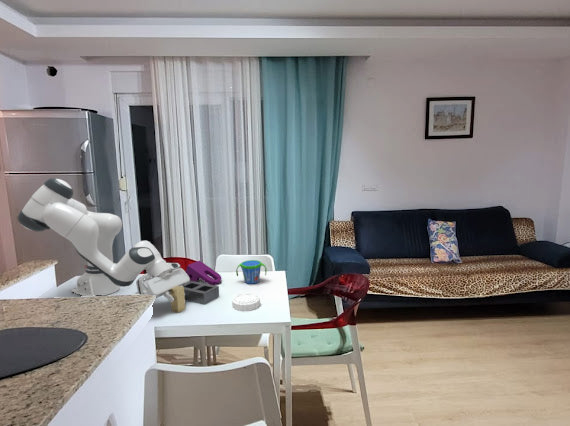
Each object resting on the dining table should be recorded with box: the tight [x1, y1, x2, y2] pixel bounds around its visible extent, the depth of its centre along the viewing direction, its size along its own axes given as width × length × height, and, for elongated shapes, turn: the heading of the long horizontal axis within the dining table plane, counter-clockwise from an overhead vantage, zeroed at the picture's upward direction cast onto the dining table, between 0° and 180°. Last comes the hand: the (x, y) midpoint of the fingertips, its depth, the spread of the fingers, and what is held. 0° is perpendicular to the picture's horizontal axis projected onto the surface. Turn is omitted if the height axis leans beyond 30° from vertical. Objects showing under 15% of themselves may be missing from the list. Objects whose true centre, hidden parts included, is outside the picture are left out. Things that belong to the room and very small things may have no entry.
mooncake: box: [231, 293, 261, 312], centre depth 150 cm, size 12×12×4 cm
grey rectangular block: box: [169, 281, 220, 305], centre depth 162 cm, size 24×10×5 cm, turn 61°
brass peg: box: [170, 286, 186, 314], centre depth 146 cm, size 4×4×10 cm
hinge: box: [135, 273, 149, 295], centre depth 171 cm, size 17×5×10 cm, turn 150°
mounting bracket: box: [185, 260, 223, 286], centre depth 181 cm, size 10×8×18 cm
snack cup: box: [235, 259, 267, 285], centre depth 179 cm, size 16×10×10 cm
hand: (178, 298), depth 146 cm, fingers closed on brass peg, 4 cm apart
